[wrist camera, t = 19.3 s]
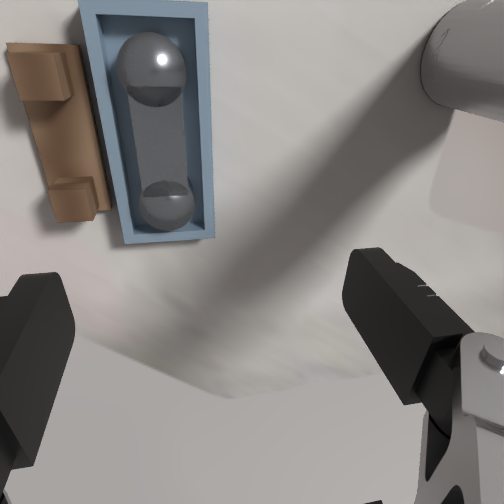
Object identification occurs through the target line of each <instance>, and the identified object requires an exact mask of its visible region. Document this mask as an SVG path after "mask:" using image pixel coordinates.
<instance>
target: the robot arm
mask: <svg viewBox="0 0 504 504" xmlns="http://www.w3.org/2000/svg"><path fill="white" fill-rule="evenodd" d="M421 78H422V83H423V87H424V89H425V91H426V93H427V95H428V96H429V97H430V98H431V100H433V101H434V102H436V103H437V104H439V105H443V106H447V107H450V108H454V109H457V110H461V111H465V112H468V113H471V114H475V115H478V116H482V117H486V118H490V119H493V120H497V121H500V122H504V0H467V1H464V2H462V3H460V4H459V5H457V6H456V7H454V8H453V9H452V10H450V11H449V12H448V13H447V14H446V15H445V16H444V17H443V18H442V19H441V21H440V22H439V23H438V25H437V26H436V28H435V29H434V30H433V32H432V34H431V36H430V38H429V40H428V42H427V44H426V47H425V50H424V53H423V58H422V64H421ZM342 300H343V305H344V308H345V311H346V312H347V314H348V316H349V317H350V319H351V321H352V322H353V324H354V325H355V327H356V329H357V330H358V332H359V333H360V335H361V337H362V338H363V340H364V342H365V343H366V345H367V346H368V348H369V350H370V351H371V353H372V354H373V356H374V358H375V359H376V361H377V363H378V364H379V366H380V367H381V369H382V371H383V372H384V374H385V376H386V377H387V379H388V380H389V382H390V384H391V385H392V387H393V388H394V390H395V392H396V393H397V395H398V396H399V398H400V400H401V401H402V403H403V404H404V405H409V404H415V403H421V402H422V403H423V405H424V406H425V408H426V409H427V410H426V412H425V415H424V418H423V428H422V441H421V453H420V466H419V480H418V489H417V495H416V499H415V502H414V504H504V339H503V338H501V337H498V336H495V335H492V334H488V333H481V332H474V331H473V330H472V329H471V328H470V327H469V326H468V325H467V324H466V323H465V322H464V321H463V320H462V319H461V318H460V317H459V316H458V315H457V314H456V313H455V312H454V311H453V310H452V309H451V308H450V307H449V306H448V305H447V304H446V303H445V302H444V301H443V300H442V299H441V298H440V297H439V296H436V293H435V292H434V291H433V290H432V289H431V288H430V287H429V286H426V283H425V282H424V281H423V280H422V279H421V278H420V277H419V276H418V275H417V274H416V273H415V272H413V271H412V270H410V269H408V268H407V267H405V266H403V265H401V264H400V263H395V262H394V261H393V260H392V259H391V258H390V256H389V255H388V254H387V253H386V252H385V251H384V250H383V249H381V248H379V247H377V248H365V249H354V250H353V251H352V252H351V254H350V258H349V262H348V267H347V272H346V276H345V281H344V286H343V290H342ZM74 337H75V321H74V316H73V313H72V310H71V307H70V304H69V301H68V298H67V295H66V292H65V289H64V286H63V283H62V280H61V277H60V275H59V274H58V273H56V272H50V273H38V274H25V275H22V276H20V277H19V279H18V280H17V282H16V284H15V285H14V287H13V288H12V290H11V291H10V293H9V295H8V296H3V297H0V504H12V503H11V501H10V499H9V497H8V495H7V493H6V491H5V490H4V487H5V485H6V482H7V479H8V477H9V474H10V471H11V470H12V469H19V468H25V467H31V466H33V465H34V462H35V459H36V456H37V452H38V450H39V447H40V444H41V440H42V437H43V434H44V431H45V428H46V425H47V422H48V419H49V416H50V413H51V410H52V407H53V403H54V400H55V397H56V394H57V391H58V388H59V385H60V382H61V378H62V376H63V373H64V369H65V366H66V363H67V360H68V357H69V354H70V351H71V348H72V345H73V342H74ZM366 504H383V503H382V501H381V500H379V501H374V502H370V503H366Z"/></svg>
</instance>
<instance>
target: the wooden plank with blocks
mask: <svg viewBox="0 0 504 504" xmlns="http://www.w3.org/2000/svg"><path fill="white" fill-rule="evenodd" d="M6 45H7V48H8V52H9V53H6V55H7V59H8V62H9V65H10V69H11V72H12V75H13V79H14V82H15V85H16V88H17V92H18V95H19V98H20V101H23V102H24V105H25V109H26V112H27V115H28V119H29V122H30V125H31V129H32V132H33V135H34V139H35V142H36V146H37V149H38V152H39V156H40V159H41V162H42V166H43V169H44V172H45V176H46V179H47V182H48V186H49V189H48V194H49V198H50V201H51V204H52V208H53V211H54V214H55V218H56V221H57V223H61V222H79V221H93V220H94V218H95V215H96V213H97V211H102V210H111V209H112V202H111V197H110V192H109V187H108V182H107V177H106V172H105V167H104V162H103V157H102V152H101V147H100V143H99V138H98V133H97V128H96V123H95V118H94V113H93V108H92V103H91V98H90V93H89V88H88V83H87V78H86V73H85V68H84V63H83V58H82V53H81V48H80V45H71V44H36V43H6Z"/></svg>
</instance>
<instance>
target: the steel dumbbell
mask: <svg viewBox="0 0 504 504" xmlns="http://www.w3.org/2000/svg"><path fill="white" fill-rule="evenodd" d="M117 73H118V77H119V80H120V82H121V84H122V86H123V88H124V89H125V91H126V92H127V93H128V99H129V106H130V113H131V119H132V126H133V133H134V140H135V146H136V153H137V160H138V166H139V173H140V180H141V186H142V189H141V194H140V199H139V210H140V213H141V215H142V217H143V219H144V220H145V221H146V222H147V223H148V224H149V225H151V226H152V227H154V228H157V229H160V230H166V231H170V230H176V229H179V228H181V227H183V226H185V225H186V224H187V223H188V222H189V221H190V220H191V218H192V217H193V214H194V211H195V202H194V194H193V187H192V184H191V182H190V180H189V179H188V177H187V166H186V153H185V139H184V126H183V112H182V99H181V93H182V91H183V89H184V86H185V82H186V67H185V63H184V60H183V57H182V55H181V53H180V51H179V49H178V48H177V46H176V45H175V44H174V43H173V42H172V41H171V40H170V39H168V38H167V37H165V36H164V35H161V34H158V33H154V32H142V33H138V34H135V35H133V36H131V37H130V38H128V39H127V40H126V41H125V42H124V43H123V45H122V46H121V48H120V50H119V53H118V57H117Z"/></svg>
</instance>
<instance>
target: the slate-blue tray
mask: <svg viewBox="0 0 504 504" xmlns="http://www.w3.org/2000/svg"><path fill="white" fill-rule="evenodd" d="M78 4H79V9H80V14H81V19H82V24H83V30H84V35H85V40H86V45H87V50H88V56H89V61H90V66H91V71H92V76H93V82H94V87H95V92H96V97H97V102H98V107H99V113H100V118H101V123H102V128H103V133H104V139H105V144H106V149H107V154H108V159H109V165H110V170H111V175H112V180H113V185H114V191H115V196H116V201H117V206H118V211H119V217H120V222H121V227H122V232H123V237H124V243H125V244H134V243H149V242H164V241H179V240H193V239H208V238H215V223H214V191H213V159H212V126H211V94H210V61H209V29H208V2H190V1H171V0H78ZM142 32H154V33H158V34H161V35H164V36H165V37H167V38H168V39H170V40H171V41H172V42H173V43H174V44H175V45H176V46H177V48H178V49H179V51H180V53H181V55H182V57H183V60H184V63H185V67H186V82H185V86H184V89H183V91H182V93H181V99H182V112H183V126H184V139H185V153H186V166H187V177H188V179H189V180H190V182H191V184H192V187H193V194H194V202H195V211H194V214H193V217H192V218H191V220H190V221H189V222H188V223H187V224H186V225H185V226H183V227H181V228H179V229H176V230H170V231H166V230H160V229H157V228H154V227H152V226H151V225H149V224H148V223H147V222H146V221H145V220H144V219H143V217H142V215H141V213H140V210H139V199H140V194H141V189H142V186H141V180H140V173H139V166H138V160H137V153H136V146H135V140H134V133H133V126H132V119H131V113H130V106H129V99H128V93H127V92H126V91H125V89H124V88H123V86H122V84H121V82H120V80H119V77H118V73H117V57H118V53H119V50H120V48H121V46H122V45H123V43H124V42H125V41H126V40H127V39H128V38H130V37H131V36H133V35H135V34H138V33H142Z"/></svg>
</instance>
